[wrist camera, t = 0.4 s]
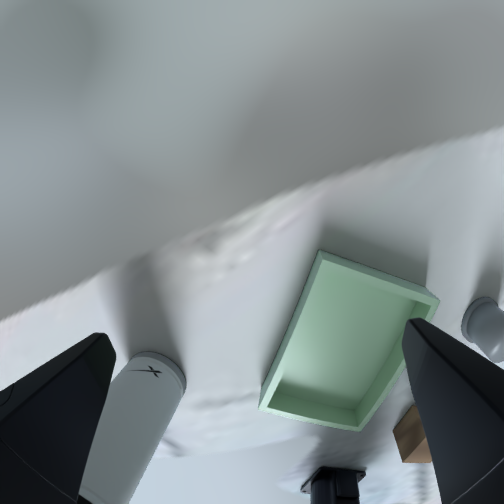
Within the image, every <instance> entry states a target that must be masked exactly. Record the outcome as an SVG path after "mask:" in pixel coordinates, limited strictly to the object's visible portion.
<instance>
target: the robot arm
mask: <svg viewBox="0 0 504 504" xmlns="http://www.w3.org/2000/svg"><path fill="white" fill-rule="evenodd" d="M402 351H403V355H404V359H405V363H406V368H407V372H408V376H409V381H410V386H411V390H412V393H413V397H414V400H415V403H416V406H417V409H418V412H419V416H420V419H421V422H422V425H423V429H424V432H425V436H426V439H427V443H428V446H429V450H430V454H431V458H432V462H433V466H434V470H435V474H436V478H437V483H438V487H439V492H440V496H441V501H442V504H504V370H503V369H502V368H500V367H499V366H497V365H496V364H494V363H493V362H491V361H489V360H488V359H486V358H485V357H483V356H482V355H480V354H479V353H477V352H475V351H474V350H472V349H471V348H469V347H468V346H466V345H464V344H463V343H461V342H460V341H458V340H457V339H455V338H453V337H452V336H450V335H449V334H447V333H445V332H444V331H442V330H441V329H439V328H437V327H436V326H434V325H432V324H431V323H429V322H428V321H426V320H424V319H423V318H420V317H417V318H411V319H408V320H407V322H406V325H405V329H404V333H403V338H402ZM115 362H116V352H115V350H114V348H113V346H112V344H111V341H110V339H109V337H108V335H107V334H105V333H93V334H91V335H90V336H88V337H87V338H85V339H83V340H82V341H80V342H78V343H77V344H75V345H74V346H72V347H70V348H69V349H67V350H66V351H64V352H62V353H61V354H59V355H58V356H56V357H54V358H53V359H51V360H50V361H48V362H46V363H45V364H43V365H42V366H40V367H38V368H37V369H35V370H34V371H32V372H30V373H29V374H27V375H26V376H24V377H23V378H21V379H19V380H18V381H16V382H15V383H13V384H11V385H10V386H8V387H7V388H5V389H4V390H2V391H0V504H77V499H78V494H79V490H80V486H81V482H82V478H83V475H84V471H85V467H86V463H87V460H88V456H89V453H90V449H91V446H92V443H93V439H94V436H95V433H96V429H97V426H98V423H99V420H100V417H101V414H102V411H103V408H104V405H105V402H106V398H107V395H108V391H109V386H110V382H111V378H112V374H113V370H114V366H115ZM365 476H366V472H365V471H355V470H345V469H337V468H329V467H321V468H319V469H318V471H317V472H316V473H315V474H314V475H313V476H312V477H311V478H310V479H309V481H308V482H307V483H306V484H305V485H304V486H303V487H302V488H301V489H300V492H301V493H307V494H311V504H360V502H359V496H360V495H359V488H358V482H359V481H361V480H362V479H363V478H364V477H365Z"/></svg>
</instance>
